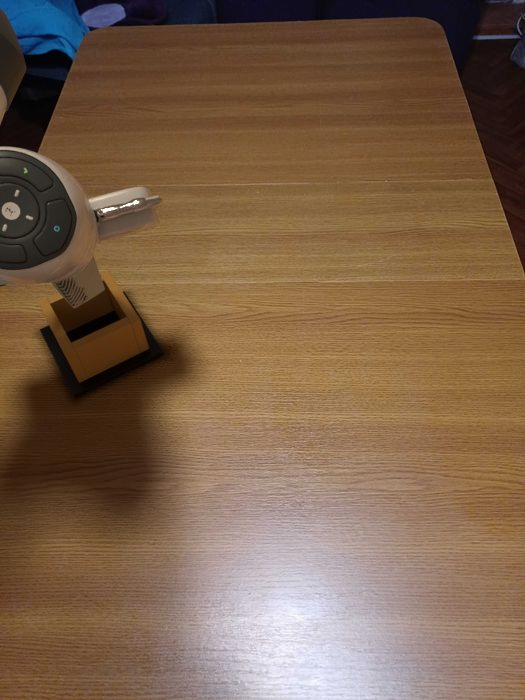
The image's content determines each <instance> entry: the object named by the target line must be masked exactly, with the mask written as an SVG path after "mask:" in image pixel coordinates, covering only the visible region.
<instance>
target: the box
mask: <svg viewBox="0 0 525 700" xmlns="http://www.w3.org/2000/svg"><path fill="white" fill-rule="evenodd" d="M100 274H101V273H100V271H99V268H98V265H97V262H96V259H95V257H94V255H93V257H92V259H91V261H90V262H89V263H88V265H87V266H86V267H85V268H84V269H83V270H82V271H80V272H79V273H78V274H76V275H75V276H73V277H71V278H69V279H66V280H63V281H59V282H53V283H51V284H52V286H53V288H55V290H56V291H57V293H58V292H59V293H60V294H61V295H62V297H63V298H64V299H65V300H66V301H67V302H68V303H69V304H70V305H71V306H72V307H73V308H76V307H78V306H80V305H82V304H83V303H85V302H87V301H88V300H90V299H92V298H93V297H95V296H96V295H98V294H99V293H101V292H103V291H104V290H105V287H104V285H103V282H102V279H101V276H100Z"/></svg>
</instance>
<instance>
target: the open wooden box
mask: <svg viewBox="0 0 525 700" xmlns="http://www.w3.org/2000/svg"><path fill="white" fill-rule="evenodd" d="M100 276H101V279H102V282H103V285H104V287H105V290H104V291H103V292H101V293H99V294H98V295H96V296H95V297H93V298H92V299H90V300H88V301H87V302H85V303H83V304H82V305H80V306H78V307H76V308H73V307H72V306H71V305H70V304H69V303H68V302H67V301H66V300H65V299H64V298H63V297H62V295H61V294H60V293H59V292H58V291H57V292H56V293H53V294H50V295H49V296H47V297H44V298H42V299H39V300H37V301H36V302H37V304H38V307H39V308H40V311H41V312H42V314H43V316H44V318H45V319H46V322H47V324H48V325H46V326H44V327H42V328H40V329H39V331H40V334H41V335H42V338H43V339H44V341H45V343H46V346H47V347H48V349H49V351H50V354H51V355H52V357H53V359H54V361H55V363H56V365H57V367H58V368H59V371H60V373H61V374H62V377H63V378H64V381H65V383H66V385H67V386H68V389H69V390H70V393H71V394H72V396H73V398H74V399H75V400H76V399H78V398H80V397H82V396H84V395H86V394H88V393H90V392H92V391H94V390H96V389H98V388H101V387H102V386H105V385H106V384H108V383H110V382H113V381H115V380H116V379H118V378H121V377H122V376H124V375H127V374H129V373H131V372H133V371H135V370H137V369H138V368H139V369H140V368H141V367H143V366H145V365H147V364H149V363H151V362H153V361H155V360H157V359H159V358H162V357H163V356H164V355H165V352H164V350H163V348H162V347H161V346H160V344H159V343H158V340H157V339H156V338H155V336H154V335H153V333H152V331H151V330H150V328H149V327H148V326H147V324H146V322H145V321H144V319H143V318H142V316H141V315H140V313H139V312H138V310H137V309H136V307H135V305H134V304H133V302H132V301H131V299H130V297H129V296H128V294H127V293H126V292H125V291H123V290H122V288H121V287H120V286H119V284H118V282H117V281H116V279H115V278H114V277H113V275H112V273H111V272H110V270H106V271H104V272H101V273H100Z"/></svg>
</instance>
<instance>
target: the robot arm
mask: <svg viewBox="0 0 525 700" xmlns="http://www.w3.org/2000/svg"><path fill="white" fill-rule="evenodd" d="M5 12H6V11H4V10H3V9H2V8H0V126H1V124H2V122H3V118H4V116H5V113H6V112H8V110H9V108H10V106H11V104H12V101H13V99H14V98H15V95H16V93H17V91H18V89H19V87H20V85H21V82H22V81H23V77H25V74H26V72H27V64H26V60H25V57H24V53H23V50H22V48H21V44H20V41H19V39H18V36H17V34H16V32H15V30H14V27H13V25H12V23H11V21H10V19H9V17H8V16H7V14H6V13H5ZM162 205H163V198H161V195H154V196H152V193H151V191H150V190H149V189H148V188H147V187H145V186H133V187H129V188H123V189H118V190H115V191H112V192H108V193H104V194H100V195H97V196H93V197H89V196H88V194H87V192H86V191H85V190H84V188H83V186H82V185H81V183H80V181H78V180H77V179H76V178H75V176H74V175H72V173H71V172H69V171H68V170H67V169H66V168H64V166H62V165H61V164H59V163H58V162H56V161H54V159H51V158H49V157H48V156H45V155H44V154H41V153H38V152H36V151H33V150H30V149H26V148H22V147H16V146H0V287H6V286H7V285H23V286H33V285H34V286H35V285H43V284H52V283H53V282H59V281H63V280H66V279H69V278H71V277H73V276H75V275H76V274H78V273H79V272H80V271H82V270H83V269H84V268H85V267H86V266H87V265H88V263H89V262H90V261H91V259H92V257H93V256H94V255H95V253H96V251H97V248H98V245H99V244H102V243H106V242H109V241H113V240H117V239H121V238H124V237H128V236H131V235H134V234H139V233H142V232H146V231H148V230H152V229H155V228H156V227H158V226H159V225H160V218H159V216H158V212H157V209H158V208H160V207H162Z"/></svg>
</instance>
